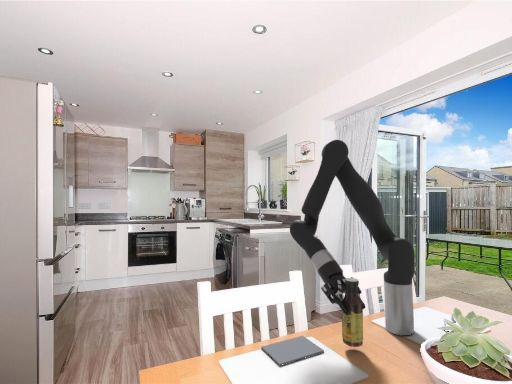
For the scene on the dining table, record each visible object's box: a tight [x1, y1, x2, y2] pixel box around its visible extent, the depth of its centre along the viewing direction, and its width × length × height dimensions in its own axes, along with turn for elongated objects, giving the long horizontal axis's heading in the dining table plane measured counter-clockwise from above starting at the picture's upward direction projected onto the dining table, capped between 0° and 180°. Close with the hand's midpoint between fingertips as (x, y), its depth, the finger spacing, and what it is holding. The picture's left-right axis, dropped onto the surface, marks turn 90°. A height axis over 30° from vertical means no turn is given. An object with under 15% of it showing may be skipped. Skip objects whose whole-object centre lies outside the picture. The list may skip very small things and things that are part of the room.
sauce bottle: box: [341, 277, 364, 348], centre depth 86 cm, size 7×6×20 cm
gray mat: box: [261, 335, 325, 366], centre depth 86 cm, size 16×11×1 cm
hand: (356, 311), depth 85 cm, fingers closed on sauce bottle, 6 cm apart
